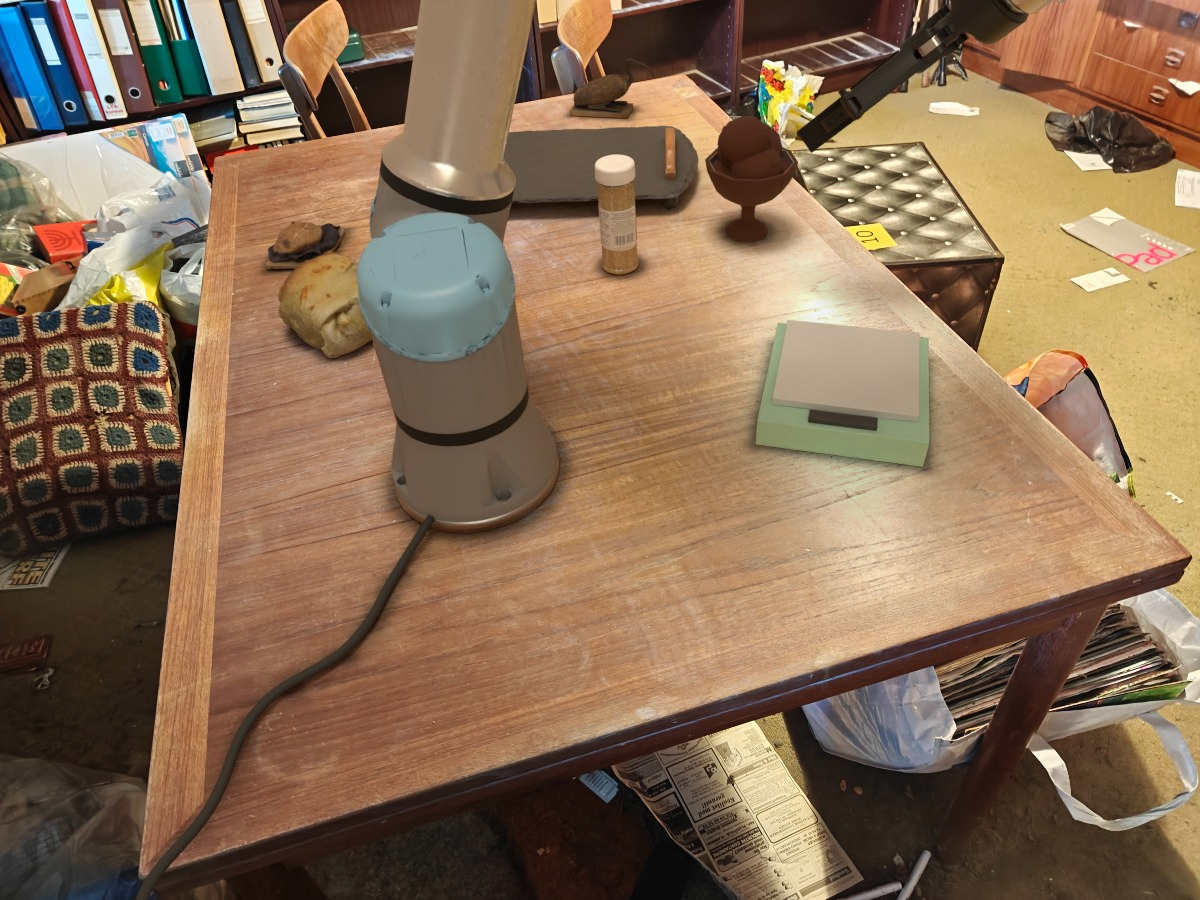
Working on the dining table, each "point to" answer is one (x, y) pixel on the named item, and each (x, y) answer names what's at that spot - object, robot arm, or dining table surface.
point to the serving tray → (568, 159)
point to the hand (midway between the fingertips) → (832, 118)
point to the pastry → (325, 305)
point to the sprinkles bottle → (617, 213)
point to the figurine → (605, 95)
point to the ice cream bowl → (749, 172)
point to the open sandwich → (303, 244)
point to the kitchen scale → (847, 392)
